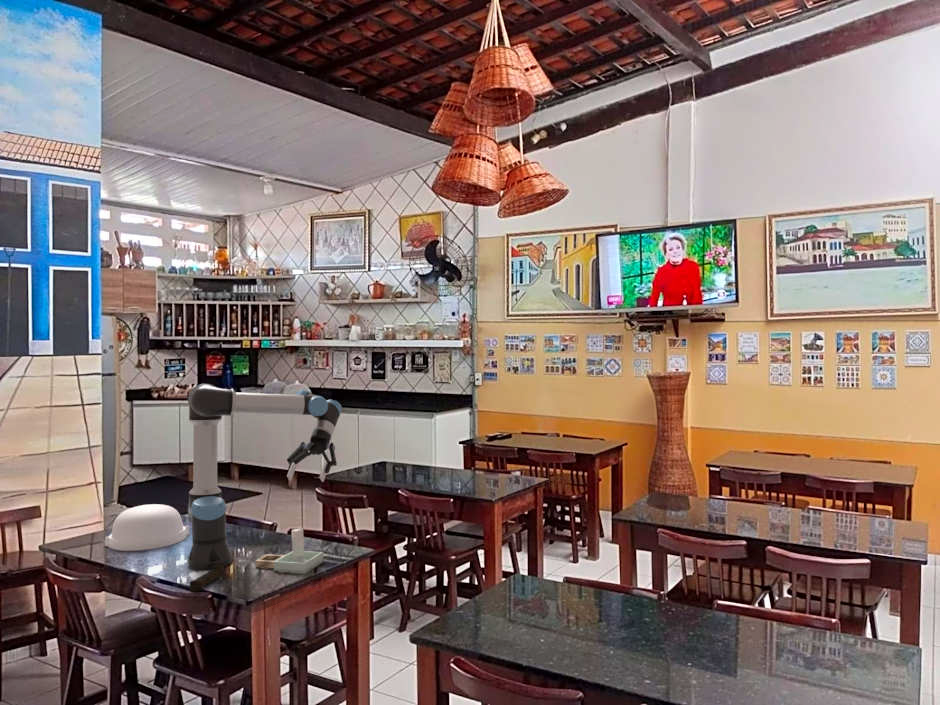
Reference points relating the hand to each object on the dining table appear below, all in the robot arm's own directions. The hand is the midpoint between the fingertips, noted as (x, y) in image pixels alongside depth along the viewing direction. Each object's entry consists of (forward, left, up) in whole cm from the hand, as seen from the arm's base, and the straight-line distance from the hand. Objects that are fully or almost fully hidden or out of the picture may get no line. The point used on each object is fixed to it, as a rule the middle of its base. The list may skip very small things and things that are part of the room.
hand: (304, 479), depth 281 cm
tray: (+5, -16, -28) cm, 33 cm away
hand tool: (-17, -37, -28) cm, 50 cm away
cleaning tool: (+5, -16, -27) cm, 32 cm away
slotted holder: (-6, -16, -28) cm, 33 cm away
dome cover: (-74, +5, -28) cm, 80 cm away
